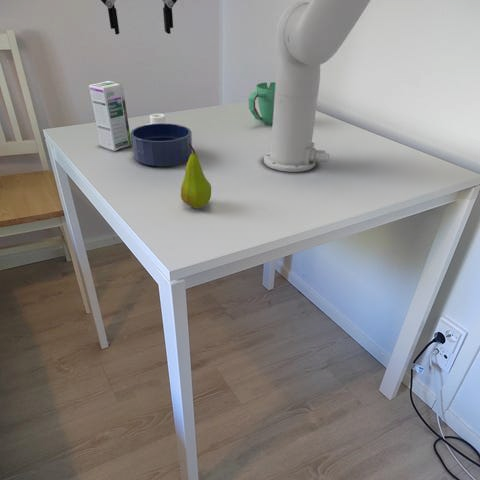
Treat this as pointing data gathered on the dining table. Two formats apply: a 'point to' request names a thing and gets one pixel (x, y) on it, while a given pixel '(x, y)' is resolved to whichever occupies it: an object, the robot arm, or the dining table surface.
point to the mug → (263, 102)
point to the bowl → (161, 144)
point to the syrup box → (110, 114)
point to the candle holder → (157, 119)
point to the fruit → (195, 184)
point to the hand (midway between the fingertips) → (142, 33)
